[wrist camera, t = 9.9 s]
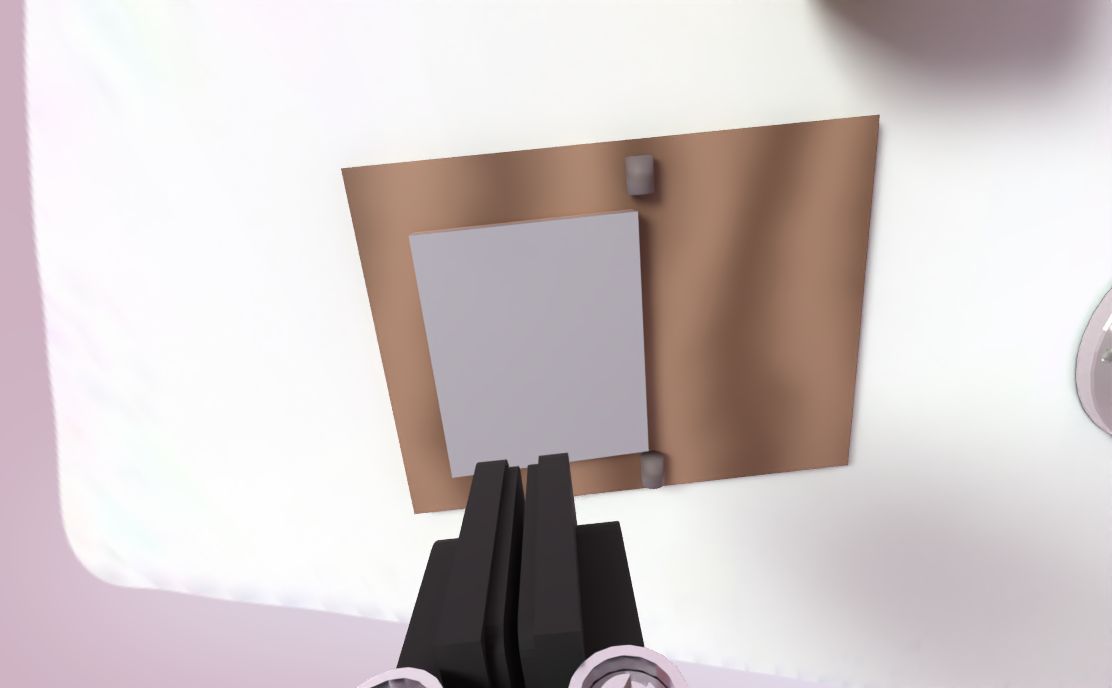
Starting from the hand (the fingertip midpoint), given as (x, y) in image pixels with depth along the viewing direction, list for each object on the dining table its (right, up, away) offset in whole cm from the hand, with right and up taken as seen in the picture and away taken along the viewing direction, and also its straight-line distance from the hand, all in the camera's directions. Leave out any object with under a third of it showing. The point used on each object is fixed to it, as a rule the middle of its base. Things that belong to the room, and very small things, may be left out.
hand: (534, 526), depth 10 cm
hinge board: (+4, +4, +18) cm, 19 cm away
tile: (0, +3, +16) cm, 16 cm away
